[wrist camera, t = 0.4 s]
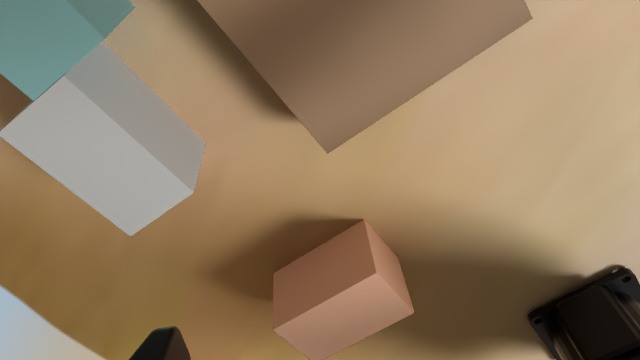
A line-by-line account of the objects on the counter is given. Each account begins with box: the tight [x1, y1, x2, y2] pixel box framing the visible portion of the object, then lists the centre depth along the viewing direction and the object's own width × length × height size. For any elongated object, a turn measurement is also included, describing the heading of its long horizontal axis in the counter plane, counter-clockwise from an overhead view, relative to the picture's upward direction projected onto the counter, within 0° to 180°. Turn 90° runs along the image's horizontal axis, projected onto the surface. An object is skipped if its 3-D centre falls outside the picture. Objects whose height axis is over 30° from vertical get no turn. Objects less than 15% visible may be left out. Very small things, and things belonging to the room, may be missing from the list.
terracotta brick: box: [273, 219, 414, 360], centre depth 25 cm, size 6×4×4 cm, turn 126°
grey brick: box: [0, 41, 206, 237], centre depth 19 cm, size 6×4×4 cm, turn 36°
